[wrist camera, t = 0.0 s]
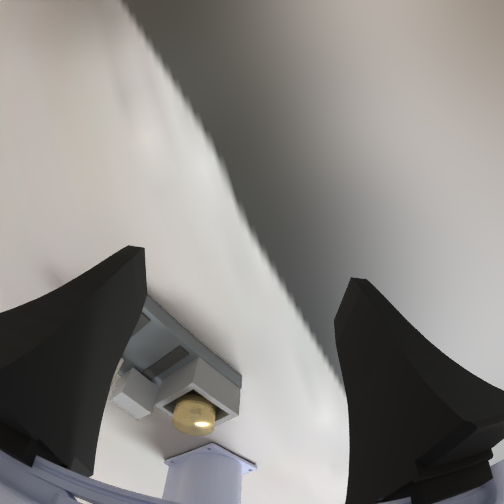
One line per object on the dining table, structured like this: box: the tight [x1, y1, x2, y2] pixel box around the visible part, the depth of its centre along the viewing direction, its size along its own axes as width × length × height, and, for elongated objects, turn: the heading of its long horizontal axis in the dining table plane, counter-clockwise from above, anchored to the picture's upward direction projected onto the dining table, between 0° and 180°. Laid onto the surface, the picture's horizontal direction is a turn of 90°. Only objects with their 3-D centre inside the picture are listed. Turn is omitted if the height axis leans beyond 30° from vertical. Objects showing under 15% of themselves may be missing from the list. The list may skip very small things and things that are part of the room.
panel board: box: [118, 294, 242, 427], centre depth 23 cm, size 8×12×4 cm, turn 41°
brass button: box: [172, 389, 217, 436], centre depth 22 cm, size 3×3×3 cm
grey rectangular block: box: [110, 368, 159, 420], centre depth 23 cm, size 2×3×3 cm, turn 41°
